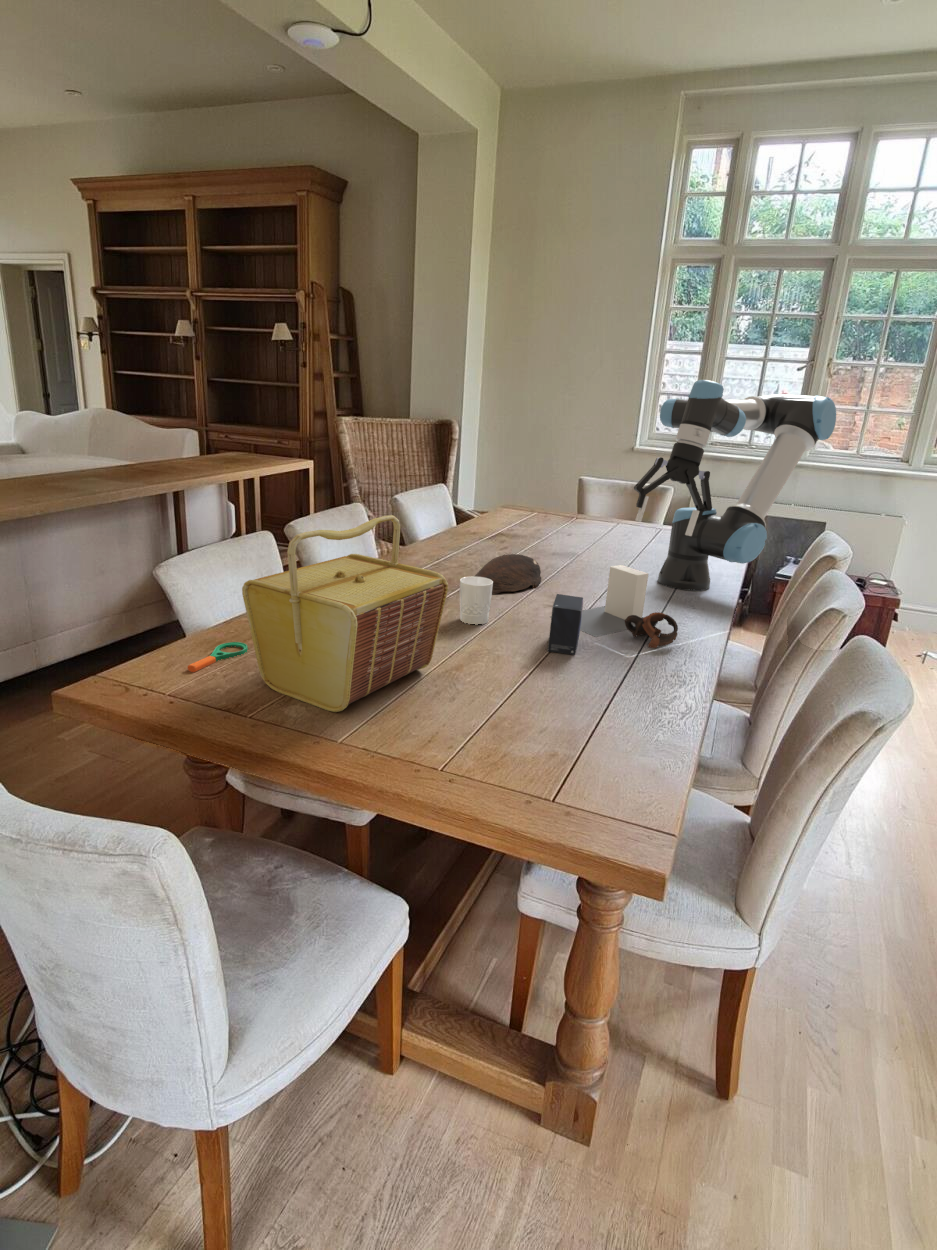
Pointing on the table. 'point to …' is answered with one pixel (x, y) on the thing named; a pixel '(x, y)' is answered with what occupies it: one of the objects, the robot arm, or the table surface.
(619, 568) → the tall block
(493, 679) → the table surface
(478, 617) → the white cup
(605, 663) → the table surface
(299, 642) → the picnic basket
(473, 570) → the table surface
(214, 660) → the magnifying glass
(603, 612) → the mat
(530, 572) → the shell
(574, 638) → the small box
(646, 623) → the brown curved piece
